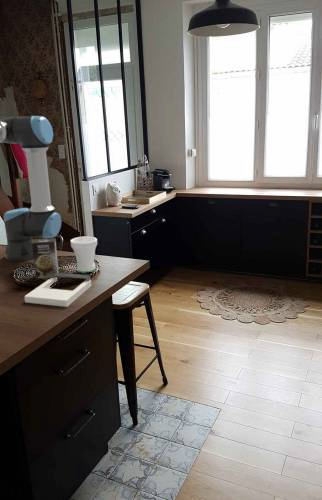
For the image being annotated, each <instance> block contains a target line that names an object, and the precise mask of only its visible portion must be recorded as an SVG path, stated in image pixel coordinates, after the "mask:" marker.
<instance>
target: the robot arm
mask: <svg viewBox="0 0 322 500" xmlns="http://www.w3.org/2000/svg"><path fill="white" fill-rule="evenodd" d="M53 138H54V130H53V127H52V124H51V123H50V121H49V120H48V119H47V118H46V117H45V116H42V115H41V116H39V115H29V116H25V115H24V116H10V117H4V118H0V144H2V143H4V144H13V145H14V144H15V145H16V144H17V145H21V150H22V151H24V153H25V157H26V165H27V166H26V167H27V175H28V183H29V192H30V201H31V206H30V208H28V207H21V208H16V209H12V210H8V211H5V212H4V215H3V222H4V228H5V235H6V240H7V241H6V242H7V243H6V247H5V252H4V256H5V259H6V261H9V262H25V261H28V260H32V259H33V260H34V257H33V248H32V242H33V240H34V239H33V238H42V239H49V238H56V236H58V234H59V232H60V230H61V228H62V217H61V215H60V213H58V212H56V207H54V206H53V205H52V200H51V189H50V179H49V171H48V170H49V169H48V161H47V151H48V149H49V147H50V144H51V143H52V142H53Z"/></svg>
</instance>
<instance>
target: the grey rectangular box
mask: <svg viewBox="0 0 322 500" xmlns="http://www.w3.org/2000/svg"><path fill="white" fill-rule="evenodd" d="M56 240H57V239H56V237H53V238H37V239H36V238H34V239H33V242H32V248H33V257H34V258H33V264H34V265H33V266H34V274H35V279H36V278H47V277H52V273H53V272H55V273H60V272H59V263H58V252H57V241H56Z"/></svg>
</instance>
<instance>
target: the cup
mask: <svg viewBox="0 0 322 500" xmlns="http://www.w3.org/2000/svg"><path fill="white" fill-rule="evenodd" d="M97 245H98V238H96V237H94V236H88V235H86V236H78V237H74V238H72V239H70V247H71V249H72V250H73V253H74V255H75V257H76V270H77V272H78V273H81V274H82V273H85V274H86V273H89V272H92V271H93V272H94V271H95V269H96V264H95V259H94V258H95V251H96V248H97ZM93 272H92V273H93Z"/></svg>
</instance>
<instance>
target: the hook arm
mask: <svg viewBox="0 0 322 500" xmlns="http://www.w3.org/2000/svg"><path fill="white" fill-rule="evenodd" d="M56 276H58V277H62V278H63V277H64V278H73V279H74V278H77V279H85V281H90V280H91V275H88V274H78V273H77V274H76V273H67V272H66V273H62V272H59V273H55V272H53V273H52V278H56Z"/></svg>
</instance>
